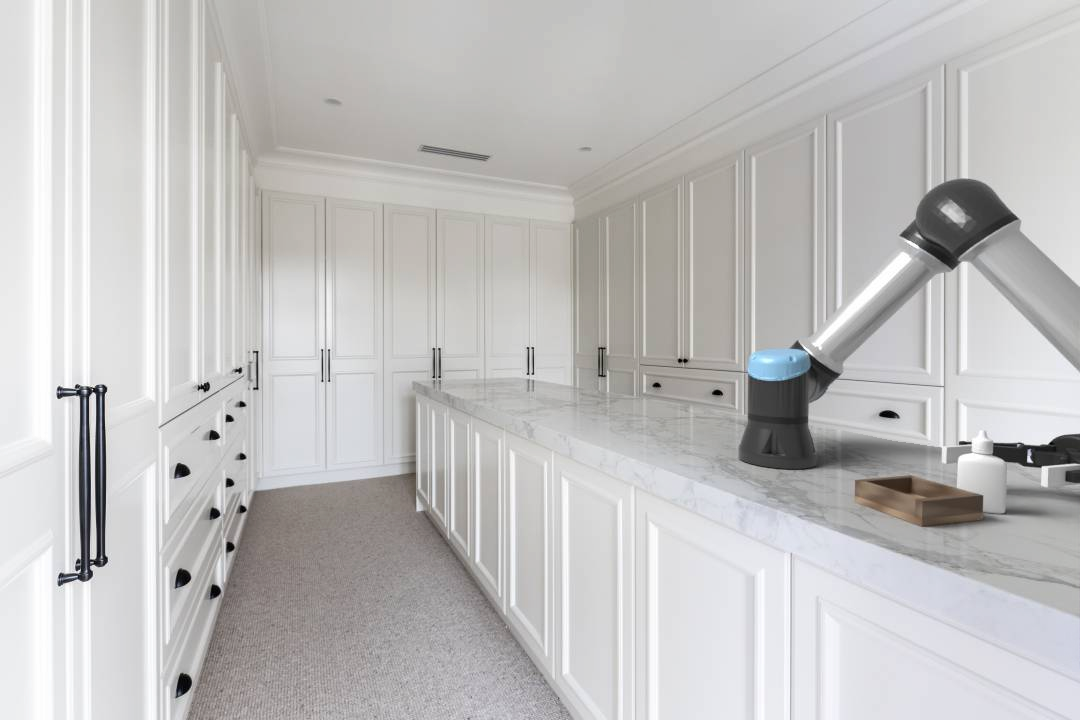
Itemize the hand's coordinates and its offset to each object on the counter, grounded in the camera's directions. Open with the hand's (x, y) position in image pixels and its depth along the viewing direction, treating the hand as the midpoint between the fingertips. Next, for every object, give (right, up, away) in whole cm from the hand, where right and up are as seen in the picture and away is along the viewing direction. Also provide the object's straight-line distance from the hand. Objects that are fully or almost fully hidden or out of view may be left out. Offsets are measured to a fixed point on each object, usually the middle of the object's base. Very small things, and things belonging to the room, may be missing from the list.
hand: (989, 465), depth 77 cm
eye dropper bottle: (-1, -7, +1) cm, 7 cm away
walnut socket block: (-11, -7, 0) cm, 13 cm away
